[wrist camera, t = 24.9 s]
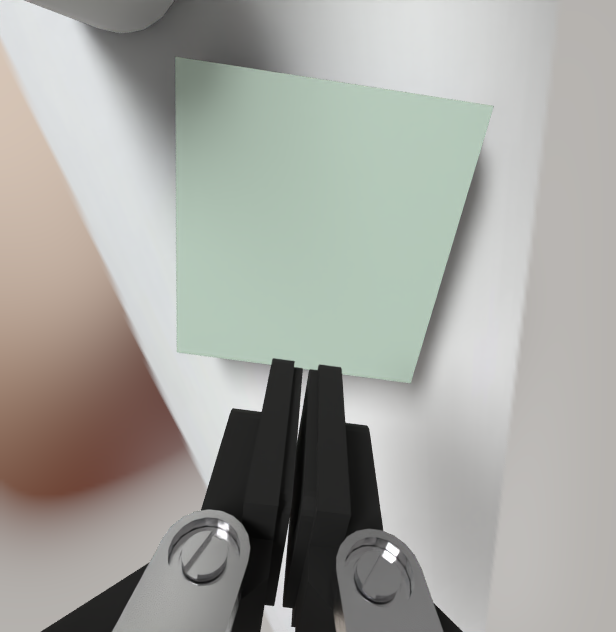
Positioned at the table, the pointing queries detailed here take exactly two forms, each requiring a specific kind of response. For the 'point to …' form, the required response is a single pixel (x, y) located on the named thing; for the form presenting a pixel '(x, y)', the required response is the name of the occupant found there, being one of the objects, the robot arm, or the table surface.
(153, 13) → the can
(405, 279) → the plate
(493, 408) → the table surface
